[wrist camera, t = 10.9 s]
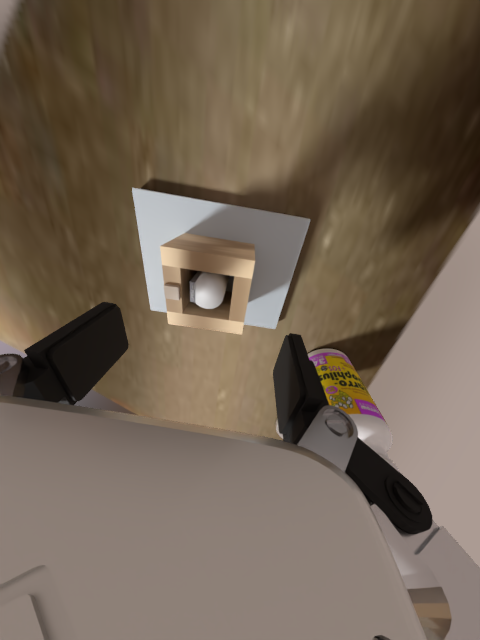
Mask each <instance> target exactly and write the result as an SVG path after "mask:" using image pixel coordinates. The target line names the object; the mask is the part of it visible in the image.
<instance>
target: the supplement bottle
mask: <svg viewBox="0 0 480 640" xmlns="http://www.w3.org/2000/svg"><path fill="white" fill-rule="evenodd" d="M308 357H309V360H312V361H313V363H314V365H315V367H316V370H317V373H318V375H319V378H320V381H321V383H322V386H323V389H324V392H325V394H326V397H327V400H328V402H329V405H331V406H335V407H338V408H340V409H341V410H343V411H345V412H346V413H347V414H348V415H349V416H350V417H351V418H352V420H353V421H354V423H355V424H356V426H357V430H358V438H359V439H361V440H362V441H363V442H364V443H365V444H366V445H368V446H369V447H370V448H371V449H372V450H374V451H375V452H376V453H377V454H378V455H379V456H381V457H382V458H383V459H384V460H385V461H387V462H388V463H389V464H390V465H391V466H392V467H394V468H395V469H396V470H397V471H398V472H399V470H398V468H397V466H396V465H395V464H394V463H393V462H392V460H391V459H389V457H388V455H387V453H386V452H387V451H388V450H389V449H390V447H391V445H392V441H393V437H392V433H391V430H390V428H389V427H388V425H387V423H386V421H385V420H384V418H383V416H382V415H381V413H380V411H379V410H378V408H377V406H376V404H375V403H374V402H373V399H372V398H371V396H370V394H369V393H368V391H367V389H366V387H365V386H364V384H363V382H362V381H361V379H360V377H359V376H358V374H357V372H356V370H355V369H354V367H353V365H352V364H351V362H350V360H349V359H348V357H347V356H346V355H345V354H344V353H342V352H341V351H338V350H335V349H318V350H315V351H312V352H310V353H308Z"/></svg>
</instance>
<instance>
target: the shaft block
mask: <svg viewBox="0 0 480 640" xmlns="http://www.w3.org/2000/svg"><path fill="white" fill-rule="evenodd" d="M132 192H133V198H134V205H135V211H136V218H137V224H138V231H139V237H140V244H141V250H142V256H143V263H144V269H145V276H146V282H147V289H148V295H149V302H150V308H151V310H154V311H160V312H167V308H166V298H165V294H164V280H163V270H162V261H161V251H160V246H161V245H163V244H165V243H167V242H169V241H170V240H172V239H174V238H176V237H178V236H180V235H182V234H184V233H188V234H194V235H201V236H207V237H213V238H219V239H226V240H232V241H238V242H244V243H251V244H255V265H254V271H253V276H252V282H251V287H250V293H249V298H248V303H247V309H246V314H245V320H244V324H245V325H252V326H258V327H265V328H272V329H276V326H277V322H278V319H279V316H280V313H281V310H282V307H283V304H284V301H285V298H286V295H287V292H288V288H289V285H290V282H291V279H292V276H293V273H294V270H295V267H296V264H297V261H298V258H299V254H300V251H301V248H302V245H303V242H304V239H305V236H306V233H307V230H308V227H309V224H310V221H311V219H308V218H304V217H298V216H293V215H287V214H281V213H276V212H270V211H264V210H259V209H253V208H247V207H242V206H236V205H230V204H225V203H219V202H213V201H208V200H202V199H196V198H191V197H185V196H179V195H174V194H168V193H162V192H157V191H151V190H145V189H139V188H132ZM233 282H234V276H230V275H223V274H217V273H210V272H204V271H197V273H196V274H195V275H194V277H193V278H192V280H191V281H190V302H195V303H196V304H197V305H198V306H200V307H202V308H205V309H213V308H216V307H218V306H219V305H220V304H221V303H222V301H223V298H224V294H225V291H228V292H232V290H233Z"/></svg>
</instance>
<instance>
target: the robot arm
mask: <svg viewBox="0 0 480 640" xmlns="http://www.w3.org/2000/svg"><path fill="white" fill-rule="evenodd" d="M127 349H128V340H127V336H126V332H125V327H124V323H123V319H122V315H121V310H120V308H119V307H118V306H117V305H116V304H113V303H107V302H102V303H100V304H99V305H97V306H96V307H94V308H92V309H91V310H89V311H87V312H86V313H84V314H83V315H81V316H79V317H78V318H76V319H74V320H73V321H71V322H69V323H68V324H66V325H65V326H63V327H61V328H60V329H58V330H56V331H55V332H53V333H52V334H50V335H48V336H47V337H45V338H43V339H42V340H40V341H38V342H37V343H35V344H34V345H32V346H30V347H29V348H27V349H25V350H24V351H25V353H26V354H27V357H25V358H22V357H21V356H20V355H18V354H2V355H0V640H480V568H479V567H478V565H477V564H476V563H475V562H474V561H473V560H472V559H471V558H470V556H469V555H468V554H467V553H466V552H465V551H464V549H463V548H462V547H461V546H460V545H459V544H458V543H457V542H456V540H455V539H454V538H453V537H452V536H451V535H450V534H449V533H448V531H447V530H446V529H445V528H444V527H443V526H441V527H438V526H437V525H436V523H435V522H434V521H433V520H432V514H431V511H430V508H429V506H428V504H427V502H426V501H425V499H424V497H423V496H422V494H421V493H420V492H419V491H418V489H417V488H416V487H415V486H414V485H413V484H412V483H411V482H410V481H409V480H408V479H407V478H405V477H404V476H403V475H402V474H401V473H400V472H398V471H397V470H396V469H395V468H394V467H392V466H391V465H390V464H389V463H388V462H387V461H385V460H384V459H383V458H382V457H381V456H379V455H378V454H377V453H376V452H375V451H374V450H372V449H371V448H370V447H369V446H368V445H366V444H365V443H364V442H363V441H362V440H361V439H359V438H358V430H357V426H356V424H355V423H354V421H353V420H352V418H351V417H350V416H349V415H348V414H347V413H346V412H345V411H343V410H341V409H340V408H338V407H335V406H331V405H329V402H328V400H327V397H326V394H325V392H324V389H323V386H322V383H321V381H320V378H319V375H318V373H317V370H316V367H315V365H314V363H313V361H312V360H309V357H308V354H307V351H306V348H305V346H304V343H303V340H302V337H301V335H297V334H291V333H290V334H289V336H288V335H286V336H285V339H284V341H283V344H282V347H281V350H280V353H279V355H278V358H277V361H276V364H275V367H274V370H273V378H274V388H275V398H276V408H277V418H278V419H277V420H276V431H277V433H278V434H279V436H280V437H282V438H283V441H281V440H277V439H273V438H268V437H263V436H257V435H252V434H246V433H241V432H236V431H230V430H224V429H218V428H212V427H206V426H200V425H194V424H188V423H182V422H176V421H169V420H163V419H157V418H151V417H145V416H138V415H132V414H126V413H119V412H113V411H107V410H100V409H94V408H88V407H81V406H75V405H74V404H75V403H76V402H77V401H80V400H81V399H82V398H83V397H85V395H86V394H87V393H88V392H89V391H90V390H91V389H92V388H93V387H94V386H95V384H96V383H97V382H98V381H99V380H100V379H101V378H102V377H103V376H104V375H105V373H106V372H107V371H108V370H109V369H110V368H111V367H112V366H113V365H114V364H115V363H116V361H117V360H118V359H119V358H120V357H121V356H122V355H123V354H124V353H125V352H126V350H127Z"/></svg>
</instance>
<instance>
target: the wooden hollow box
mask: <svg viewBox="0 0 480 640" xmlns="http://www.w3.org/2000/svg"><path fill="white" fill-rule="evenodd" d="M160 251H161V261H162V270H163V280H164V294H165V298H166V308H167V317H168V324H173V325H180V326H187V327H194V328H201V329H208V330H215V331H222V332H228V333H235V334H242V331H243V325H244V320H245V314H246V309H247V303H248V298H249V293H250V287H251V282H252V276H253V271H254V265H255V244H251V243H244V242H238V241H232V240H226V239H219V238H213V237H207V236H201V235H194V234H188V233H184V234H182V235H180V236H178V237H176V238H174V239H172V240H170V241H169V242H167V243H165V244H163V245H161V246H160ZM197 271H204V272H210V273H217V274H223V275H230V276H234V282H233V290H232V292H228V291H225V294H224V298H223V301H222V303H221V304H220V305H219V306H218V307H216V308H213V309H205V308H202V307H200V306H198V305H197V304H196V303H195V302H190V281H191V280H192V278H193V277H194V275H195V274H196V273H197Z"/></svg>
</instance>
